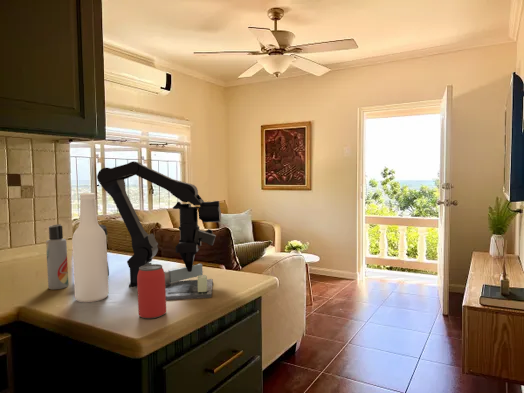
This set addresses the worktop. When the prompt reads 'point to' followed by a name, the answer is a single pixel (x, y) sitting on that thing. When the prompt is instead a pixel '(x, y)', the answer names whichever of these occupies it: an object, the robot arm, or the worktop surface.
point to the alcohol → (89, 254)
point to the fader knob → (202, 283)
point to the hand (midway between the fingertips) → (189, 271)
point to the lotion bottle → (57, 258)
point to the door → (182, 273)
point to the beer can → (151, 291)
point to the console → (187, 290)
